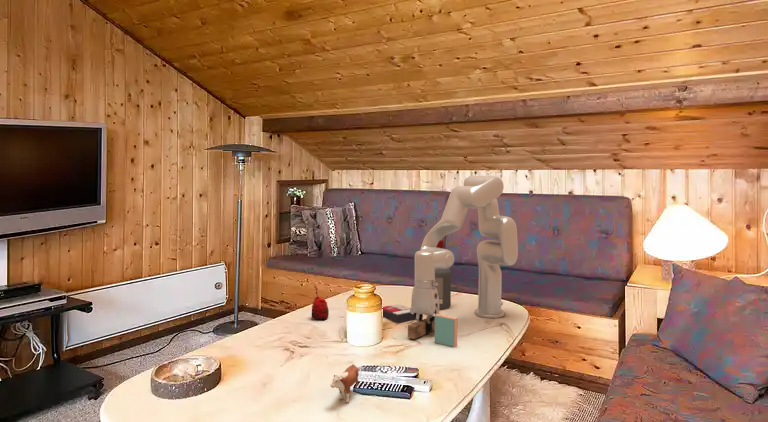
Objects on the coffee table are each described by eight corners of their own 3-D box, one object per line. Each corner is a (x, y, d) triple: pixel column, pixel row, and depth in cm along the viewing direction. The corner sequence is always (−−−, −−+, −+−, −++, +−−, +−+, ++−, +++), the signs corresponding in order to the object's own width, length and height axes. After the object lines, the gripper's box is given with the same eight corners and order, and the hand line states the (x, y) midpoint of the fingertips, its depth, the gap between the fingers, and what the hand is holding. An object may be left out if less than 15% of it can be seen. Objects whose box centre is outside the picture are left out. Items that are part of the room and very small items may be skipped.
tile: (437, 340, 185) (437, 313, 184) (457, 345, 180) (457, 317, 180) (434, 342, 183) (434, 315, 182) (453, 347, 179) (454, 319, 178)
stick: (433, 327, 201) (433, 315, 201) (439, 328, 199) (440, 316, 199) (407, 337, 187) (407, 324, 186) (414, 338, 185) (414, 326, 185)
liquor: (437, 303, 236) (438, 238, 233) (453, 307, 229) (454, 240, 227) (424, 306, 230) (424, 240, 227) (439, 311, 223) (440, 242, 220)
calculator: (398, 303, 224) (419, 309, 211) (398, 312, 224) (419, 319, 212) (377, 306, 218) (397, 313, 205) (377, 316, 218) (397, 324, 206)
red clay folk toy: (331, 319, 211) (331, 283, 210) (316, 322, 207) (315, 285, 206) (323, 315, 217) (322, 280, 216) (308, 317, 213) (307, 282, 212)
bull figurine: (327, 406, 134) (327, 376, 134) (349, 386, 147) (349, 358, 146) (343, 409, 133) (342, 379, 132) (363, 388, 145) (363, 360, 145)
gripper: (448, 284, 190) (448, 333, 191) (411, 279, 199) (412, 325, 201) (438, 288, 184) (438, 338, 185) (401, 282, 193) (401, 330, 195)
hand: (424, 331), depth 193 cm, fingers closed on stick, 2 cm apart
